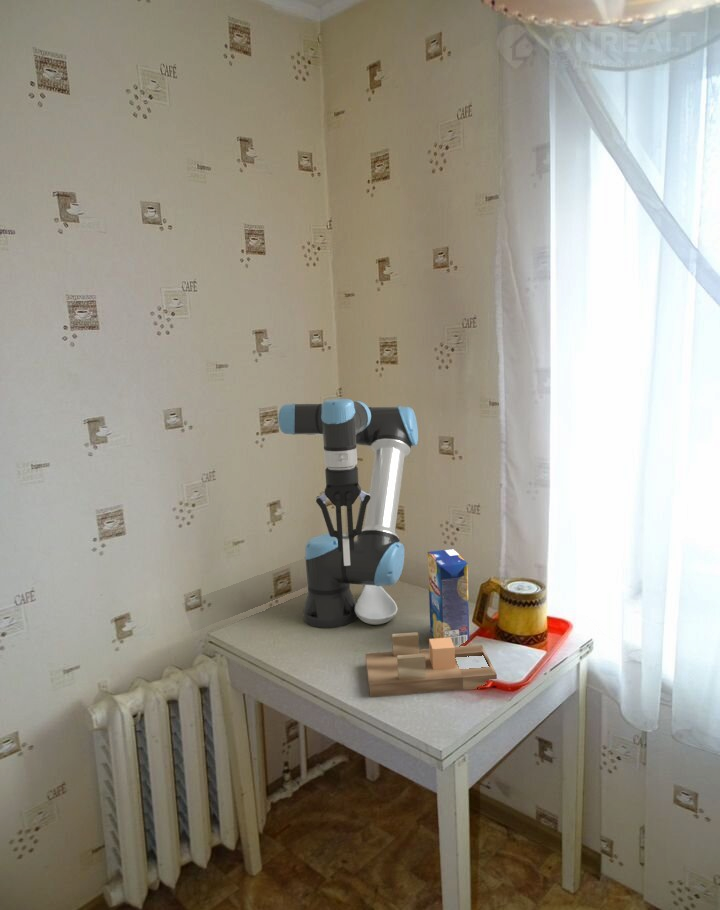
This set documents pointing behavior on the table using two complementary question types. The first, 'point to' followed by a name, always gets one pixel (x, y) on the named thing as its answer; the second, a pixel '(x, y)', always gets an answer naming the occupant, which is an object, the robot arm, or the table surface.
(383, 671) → the deck
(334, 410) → the robot arm
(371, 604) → the spoon rest
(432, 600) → the beverage box
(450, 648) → the block
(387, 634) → the table surface
